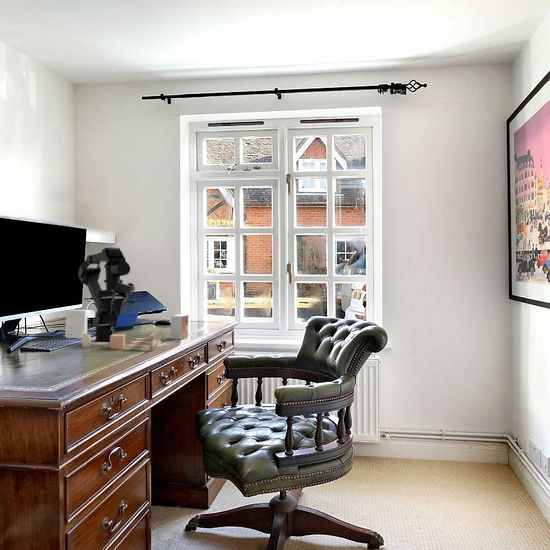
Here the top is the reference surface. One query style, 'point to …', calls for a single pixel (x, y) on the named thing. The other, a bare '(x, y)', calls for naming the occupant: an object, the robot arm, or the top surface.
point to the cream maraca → (115, 342)
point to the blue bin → (126, 321)
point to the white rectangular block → (76, 323)
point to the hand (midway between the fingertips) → (114, 314)
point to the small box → (179, 326)
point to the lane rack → (146, 342)
